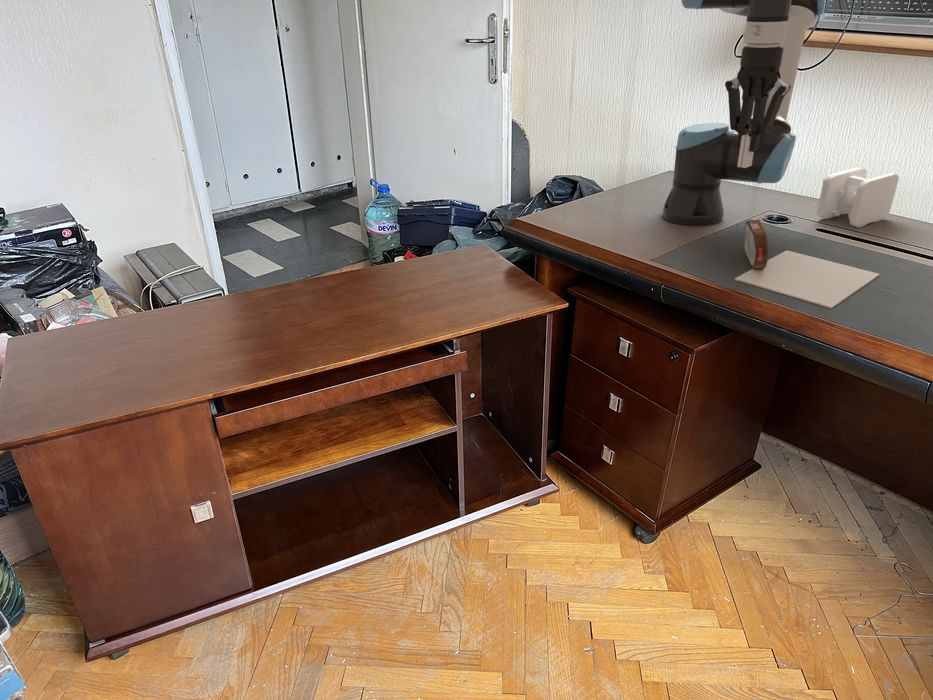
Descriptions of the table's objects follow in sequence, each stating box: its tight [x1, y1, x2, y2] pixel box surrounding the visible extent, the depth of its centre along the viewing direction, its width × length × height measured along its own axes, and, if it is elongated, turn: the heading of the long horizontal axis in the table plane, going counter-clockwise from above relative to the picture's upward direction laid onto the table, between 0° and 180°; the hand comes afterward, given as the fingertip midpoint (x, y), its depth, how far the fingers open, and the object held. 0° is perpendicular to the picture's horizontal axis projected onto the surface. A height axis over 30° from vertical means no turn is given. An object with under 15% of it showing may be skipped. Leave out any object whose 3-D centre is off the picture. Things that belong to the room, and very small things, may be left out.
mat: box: [734, 249, 880, 309], centre depth 143 cm, size 20×22×1 cm
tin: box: [743, 218, 769, 269], centre depth 149 cm, size 15×3×8 cm, turn 168°
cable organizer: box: [816, 167, 900, 229], centre depth 170 cm, size 15×11×12 cm
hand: (744, 166), depth 145 cm, fingers closed
